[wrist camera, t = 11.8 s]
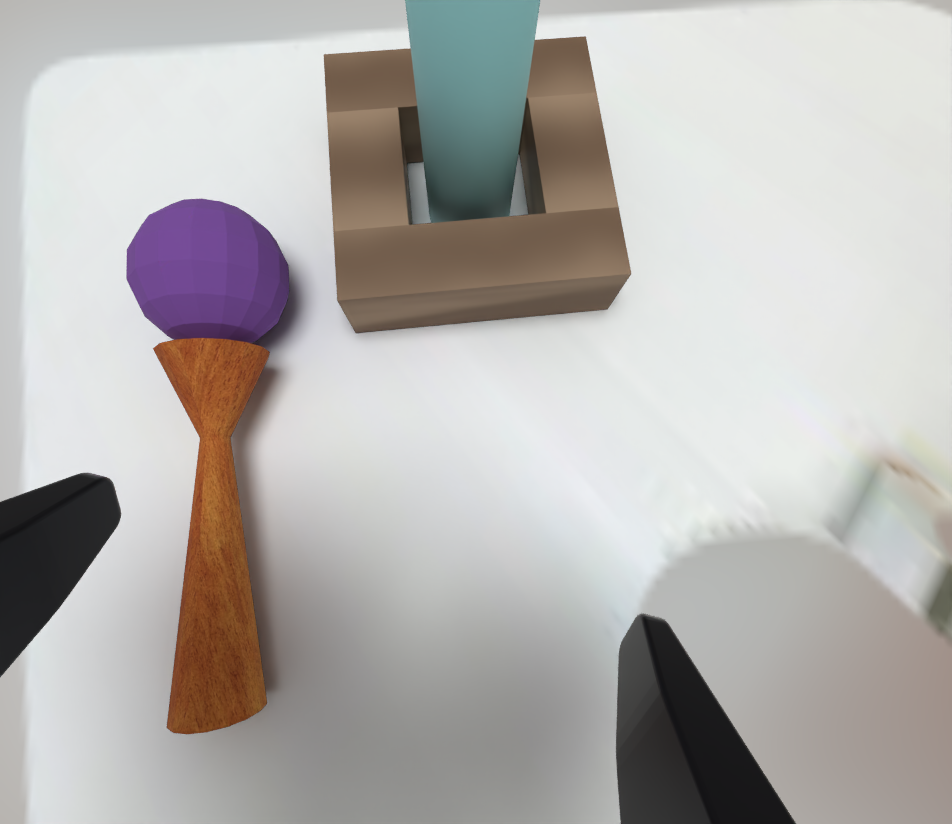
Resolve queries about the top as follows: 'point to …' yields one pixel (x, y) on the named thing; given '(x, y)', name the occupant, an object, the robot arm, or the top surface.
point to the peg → (471, 100)
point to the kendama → (212, 432)
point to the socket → (478, 240)
